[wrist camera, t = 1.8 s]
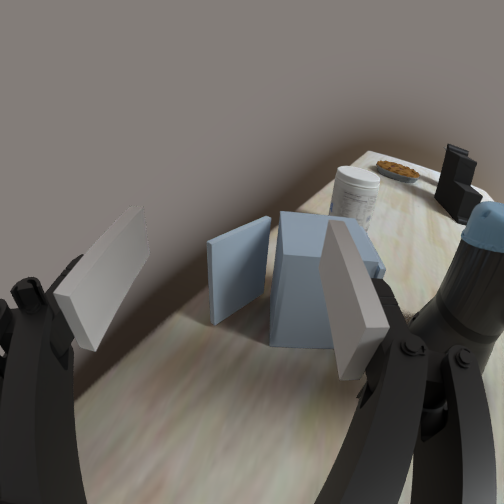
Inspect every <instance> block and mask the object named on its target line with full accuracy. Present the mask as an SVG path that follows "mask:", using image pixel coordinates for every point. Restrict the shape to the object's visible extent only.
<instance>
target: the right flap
mask: <svg viewBox="0 0 504 504" xmlns="http://www.w3.org/2000/svg"><path fill="white" fill-rule="evenodd" d="M270 224H271V218H270V217H268V216H265V217H262V218H260V219H258V220H255V221H253V222H251V223H248V224H246V225H244V226H241V227H239V228H237V229H234V230H232V231H230V232H228V233H225V234H223V235H220V236H218V237H216V238H214V239H211V240H209V241H207V258H208V259H207V260H208V283H209V302H210V319H211V323H212V324H213V325H216V324H218V323H219V322H221V321H223V320H224V319H226V318H227V317H229V316H230V315H232V314H233V313H235V312H236V311H238V310H239V309H241V308H242V307H244V306H245V305H247V304H248V303H250V302H251V301H253V300H254V299H256V298H257V297H259V296H260V295H262V294H263V293H264V283H265V274H266V264H267V254H268V245H269V235H270Z"/></svg>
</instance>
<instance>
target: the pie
mask: <svg viewBox="0 0 504 504" xmlns="http://www.w3.org/2000/svg"><path fill="white" fill-rule="evenodd" d="M376 165H377V168H378V171H379V172H380V173H381V174H383V175H385V176H387V177H389V178H392V179H395V180H398V181H401V182H405V183H414V182H416V181H417V179H419V178H420V177H419V173H418V172H415V170H414V169H410V168H409V167H405V166H403V165H401V164H397V163H394V162H388V161H380V162H379V161H378V162H377V164H376Z"/></svg>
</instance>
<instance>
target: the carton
mask: <svg viewBox="0 0 504 504" xmlns="http://www.w3.org/2000/svg"><path fill="white" fill-rule="evenodd" d="M328 220H339V221H344V222H345V224H346V226H347V228H348V230H349V232H350V234H351V236H352V238H353V240H354V243H355V245H356V247H357V249H358V251H359V253H360V256H361V258H362V260H363V262H364V265H365V267H366V269H367V271H368V274H369V276H370V278H379V279H383V277H384V274H385V271H386V268H385V266H384V264H383V262H382V261H381V259H380V257H379V255H378V253H377V251H376V249H375V248H374V246H373V244H372V242H371V240H370V239H369V237H368V235H367V233H366V231H365V230H364V228H363V227H362V226H359V224H358V222H357V220H356V219H355V218H346V217H337V216H328V215H318V214H308V213H297V212H285V211H281V212H280V220H279V228H278V237H277V245H276V254H275V262H274V270H273V278H272V286H271V294H270V345H269V346H272V347H291V348H323V349H334V345H333V339H332V333H331V328H330V322H329V317H328V312H327V307H326V302H325V297H324V292H323V287H322V283H321V278H320V273H319V269H318V267H319V263H320V258H321V254H322V249H323V245H324V240H325V235H326V230H327V225H328Z"/></svg>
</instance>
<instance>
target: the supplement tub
mask: <svg viewBox="0 0 504 504" xmlns="http://www.w3.org/2000/svg"><path fill="white" fill-rule="evenodd" d="M379 183H380V177H379V176H378V175H376V174H374V173H373V172H370V171H368V170H365V169H361V168H357V167H351V166H341V167H339V168H338V169H337V174H336V177H335V183H334V188H333V194H332V199H331V205H330V210H329V215H328V216H337V217H346V218H355V219H356V220H357V222H358V224H359V226H362V227H363V228H364V230H365V231H366V233H368V229H369V225H370V222H371V218H372V214H373V211H374V207H375V203H376V199H377V195H378V190H379V186H380V185H379Z"/></svg>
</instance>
